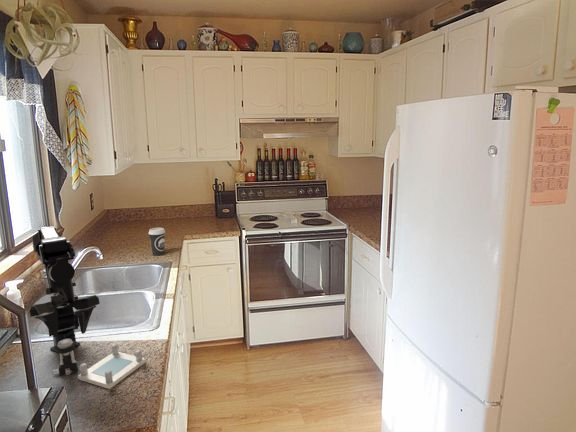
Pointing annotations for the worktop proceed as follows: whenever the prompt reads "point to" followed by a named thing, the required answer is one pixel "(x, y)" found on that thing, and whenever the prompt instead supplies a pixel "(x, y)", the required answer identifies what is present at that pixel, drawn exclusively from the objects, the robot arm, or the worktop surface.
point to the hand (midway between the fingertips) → (69, 335)
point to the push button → (66, 357)
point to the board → (111, 368)
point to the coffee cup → (157, 241)
